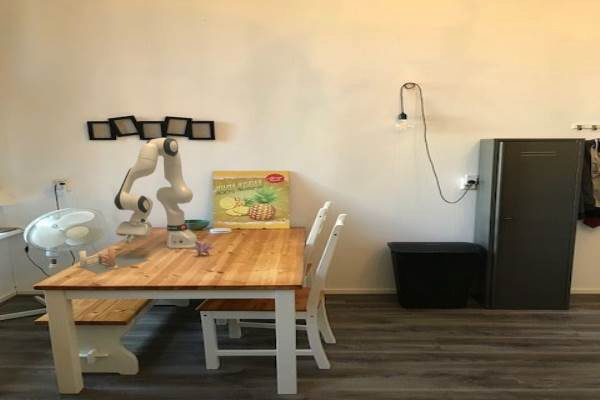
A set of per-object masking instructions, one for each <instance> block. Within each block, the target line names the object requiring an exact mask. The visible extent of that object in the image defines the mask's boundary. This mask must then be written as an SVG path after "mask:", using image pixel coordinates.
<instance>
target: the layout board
mask: <svg viewBox="0 0 600 400" xmlns="http://www.w3.org/2000/svg"><path fill="white" fill-rule="evenodd" d="M108 262H109V260H108ZM147 262H150V259H148V258H146V257H145V258H144V257H141V256H137V255H135V254H132V253H131V254H126V255H122V256H118V257H115V264H116V266H115V267H109V265H108V264H105V263H99V262H97V263H92V264H88V265H87V267H83V268H81V265H80V266H78V267H79V268H81V269H83V270H85V271H88V272H91V273H94V274H95V275H99V274H104V273H108V272H111V271H115V270H119V269H121V268H122V269H123V268H126V267H130V266H135V265H138V264H142V263H147Z"/></svg>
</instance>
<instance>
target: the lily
mask: <svg viewBox="0 0 600 400" xmlns="http://www.w3.org/2000/svg"><path fill="white" fill-rule="evenodd" d="M197 241H198V240H197ZM197 241H194V242H195V244H196V247H193V248H191V250H194V251H197V255H202V254H203V253H204V254H206V255H210V252H209V251H210V250H212V249H215V247H214V246H211V245H208V244H207V242H203V243H202V242H201V241H199V242H197ZM200 242H201V243H200Z"/></svg>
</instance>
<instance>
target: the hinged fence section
mask: <svg viewBox="0 0 600 400" xmlns="http://www.w3.org/2000/svg"><path fill="white" fill-rule="evenodd" d="M100 257H101V258H102V260H101V262H102V263H105V264H108V265H109V267H115V266H116V264H115V258H116V254H115V247H114V246H113V247H108V248H107V256H106V255H103V254H102V255H100ZM108 260H109V262H108Z"/></svg>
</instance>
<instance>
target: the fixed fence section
mask: <svg viewBox="0 0 600 400" xmlns="http://www.w3.org/2000/svg"><path fill="white" fill-rule="evenodd" d="M78 253H79V254H78V255H79V264H80V266H81V269H83V267H87V265H88V264H92V263H97V262H99V263H102V262H101V260H102V259H103V258H101V257H100V255H103V254H102V253H99V254H96V255H91V256H87V250H80V251H78ZM93 259H95V260H93ZM89 260H90V261H89Z"/></svg>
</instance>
